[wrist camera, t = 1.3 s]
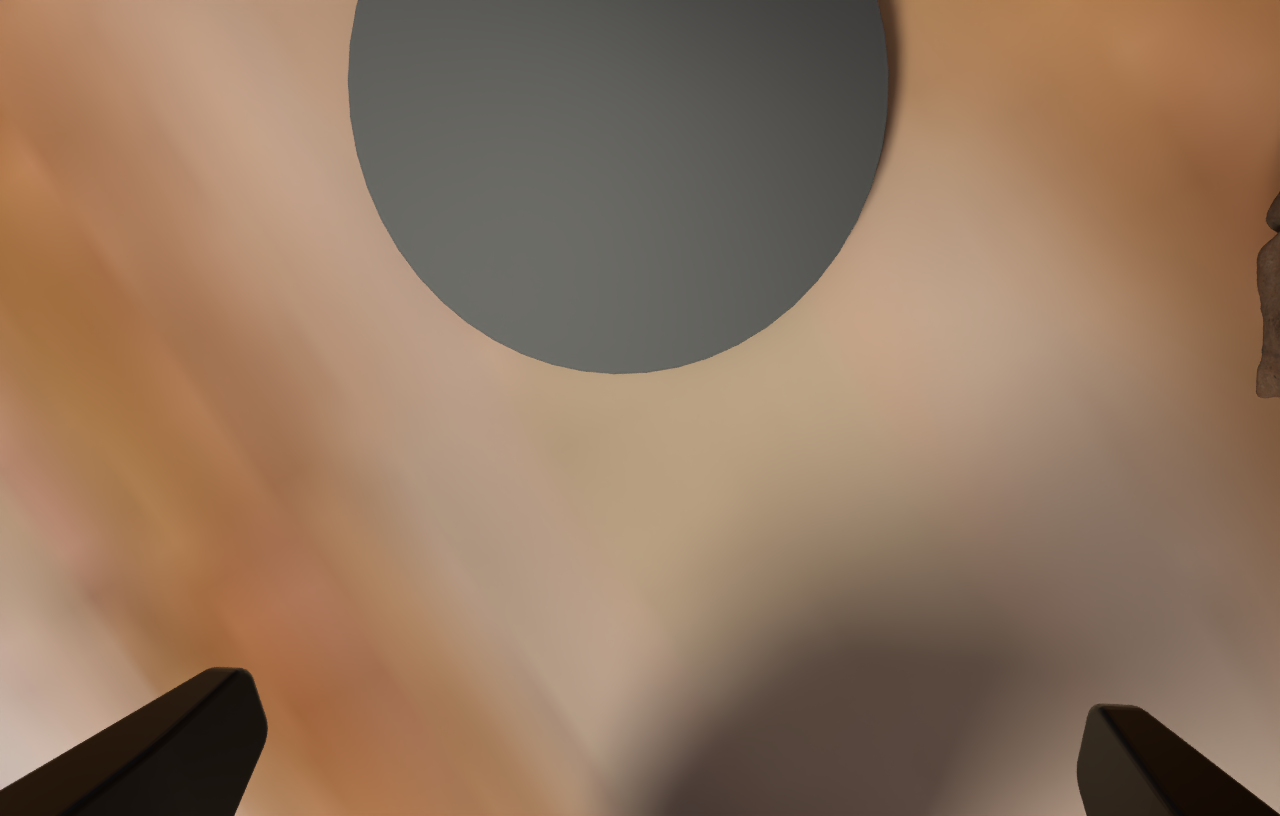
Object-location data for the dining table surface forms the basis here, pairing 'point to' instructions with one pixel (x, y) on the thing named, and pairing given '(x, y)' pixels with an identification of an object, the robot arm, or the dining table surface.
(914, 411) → the dining table surface
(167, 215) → the dining table surface
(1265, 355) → the pottery mug
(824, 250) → the rubber mat
